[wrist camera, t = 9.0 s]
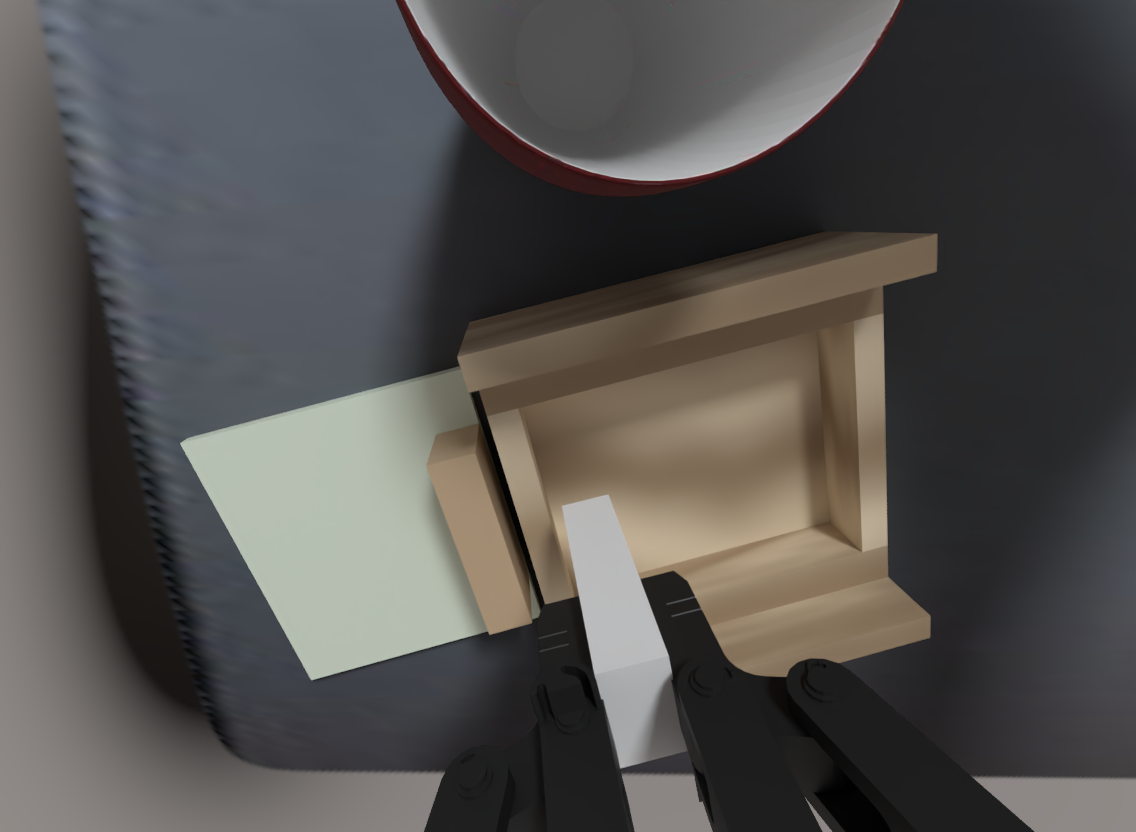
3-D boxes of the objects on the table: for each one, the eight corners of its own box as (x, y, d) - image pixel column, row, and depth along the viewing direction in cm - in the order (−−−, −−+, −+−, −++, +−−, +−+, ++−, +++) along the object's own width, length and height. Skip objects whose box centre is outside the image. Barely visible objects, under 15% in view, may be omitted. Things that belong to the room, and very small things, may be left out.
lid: (195, 432, 19) (128, 478, 16) (463, 362, 20) (454, 391, 16) (319, 661, 23) (287, 738, 20) (540, 600, 24) (546, 665, 20)
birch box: (469, 322, 19) (457, 357, 14) (825, 231, 19) (937, 233, 14) (562, 629, 24) (577, 735, 19) (843, 553, 24) (930, 637, 19)
